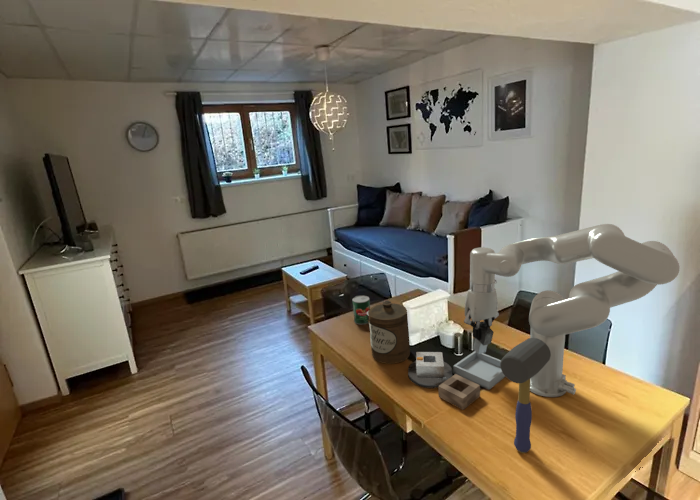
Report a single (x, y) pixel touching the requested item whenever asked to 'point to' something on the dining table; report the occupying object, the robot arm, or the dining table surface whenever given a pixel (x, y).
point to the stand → (459, 391)
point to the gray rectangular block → (483, 338)
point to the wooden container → (389, 333)
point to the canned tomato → (361, 309)
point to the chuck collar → (429, 364)
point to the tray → (480, 369)
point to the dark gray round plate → (428, 381)
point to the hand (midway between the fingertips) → (481, 336)
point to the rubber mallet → (524, 383)
